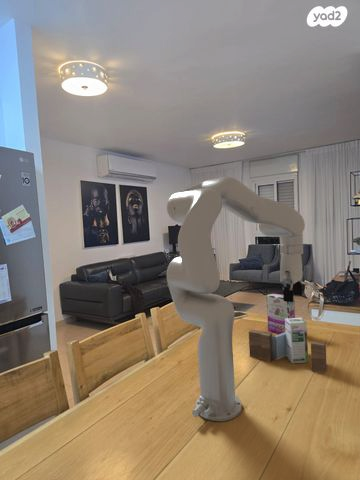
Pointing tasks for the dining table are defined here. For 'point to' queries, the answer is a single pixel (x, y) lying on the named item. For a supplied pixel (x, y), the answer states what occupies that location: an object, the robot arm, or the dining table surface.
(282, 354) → the door
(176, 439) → the dining table surface
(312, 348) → the door frame
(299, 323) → the syrup box
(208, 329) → the robot arm
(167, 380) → the dining table surface
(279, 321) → the candy bar box
